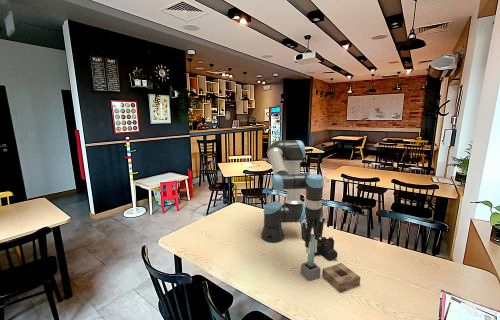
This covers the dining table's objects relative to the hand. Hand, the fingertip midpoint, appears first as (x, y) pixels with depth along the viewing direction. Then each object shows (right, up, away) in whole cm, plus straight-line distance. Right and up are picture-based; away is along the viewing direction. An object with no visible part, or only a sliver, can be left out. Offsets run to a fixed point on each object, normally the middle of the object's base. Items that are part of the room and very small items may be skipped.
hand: (311, 251), depth 115 cm
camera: (+13, -11, +19) cm, 25 cm away
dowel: (0, -7, +1) cm, 7 cm away
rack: (+14, -14, -2) cm, 20 cm away
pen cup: (0, -13, +2) cm, 13 cm away
